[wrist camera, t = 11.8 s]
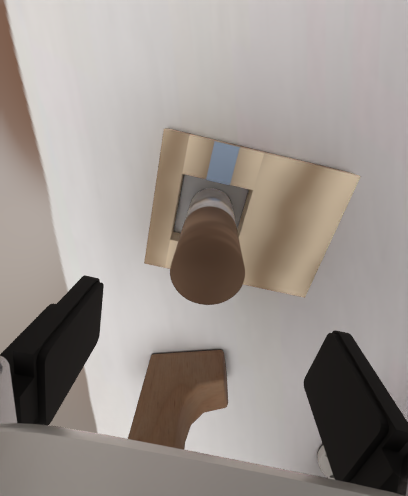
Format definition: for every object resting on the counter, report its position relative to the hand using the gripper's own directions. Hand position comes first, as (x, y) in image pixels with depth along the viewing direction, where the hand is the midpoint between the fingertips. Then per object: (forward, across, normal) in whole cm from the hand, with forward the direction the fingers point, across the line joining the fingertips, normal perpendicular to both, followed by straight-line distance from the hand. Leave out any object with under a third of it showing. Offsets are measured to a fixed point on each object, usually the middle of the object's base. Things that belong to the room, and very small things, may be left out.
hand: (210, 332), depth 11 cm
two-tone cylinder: (+16, +1, -1) cm, 16 cm away
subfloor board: (+16, -2, -1) cm, 16 cm away
